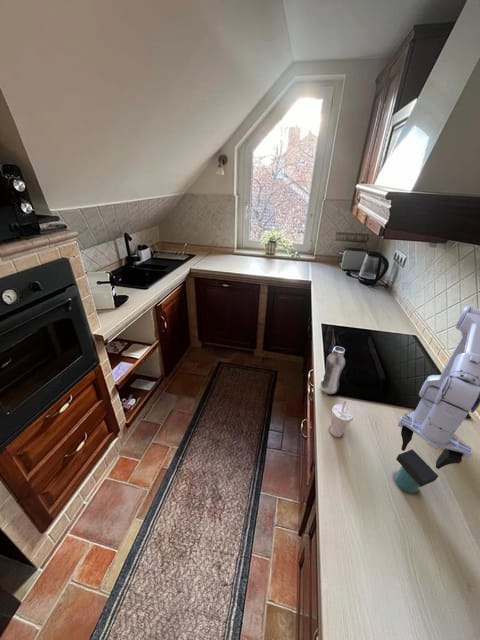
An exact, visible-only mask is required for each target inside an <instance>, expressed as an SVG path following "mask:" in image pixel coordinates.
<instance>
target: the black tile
mask: <svg viewBox="0 0 480 640" xmlns="http://www.w3.org/2000/svg"><path fill="white" fill-rule="evenodd" d="M395 459H396V461H397V462H398V463H399V464H400V466H402V467H403V468H404V469H405V470H406V471H407V472H408V473H409V475H410V476H411V477H412V478H413V479H414V480H415V481H416V482H417V484H418V485H419V486H420V488H422V487H424V486H426V485H429V484H432V483H433V482H435V481H436V480H437V479H438V478H439V475H438V474H437V473H436V472H435V470H433V468H431V467H430V465H429V464H427V462H426V461H425V460H424V459H423V458H422V457H421V456H420V455H419V454H418V453H417V452H416V451H415V450H414V449H412V448H411V449H409V450H407V451H403V452H402V453H399V454H398V455H397V456H396V458H395Z"/></svg>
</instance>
